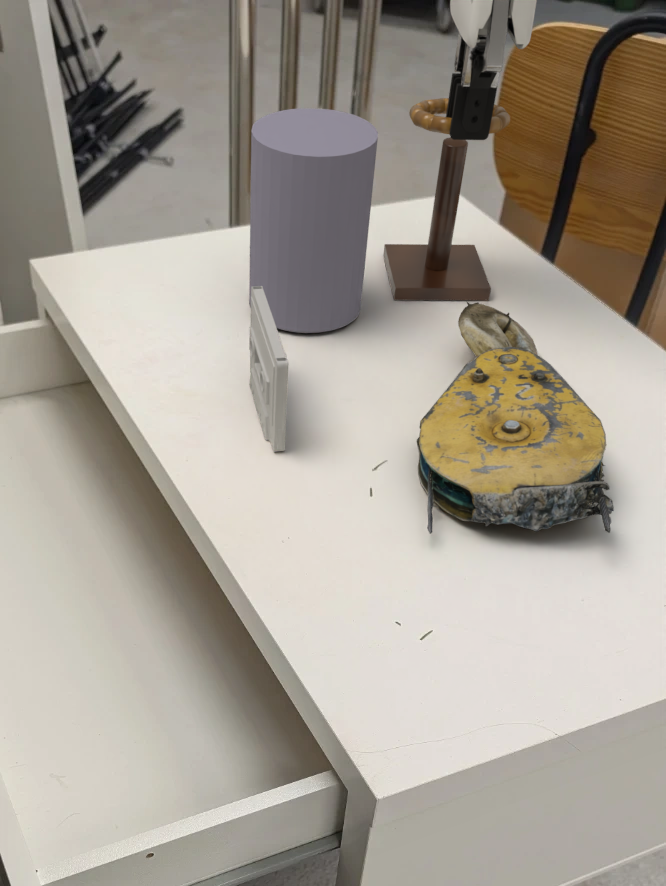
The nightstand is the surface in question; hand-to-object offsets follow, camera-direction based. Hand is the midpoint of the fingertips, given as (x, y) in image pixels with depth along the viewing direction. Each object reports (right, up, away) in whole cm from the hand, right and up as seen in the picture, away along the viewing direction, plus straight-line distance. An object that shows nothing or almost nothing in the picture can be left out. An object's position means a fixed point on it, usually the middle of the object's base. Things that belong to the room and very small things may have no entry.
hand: (466, 131), depth 86 cm
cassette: (-17, -24, -2) cm, 30 cm away
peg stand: (0, -7, +13) cm, 15 cm away
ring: (0, +3, +2) cm, 3 cm away
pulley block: (+2, -27, -4) cm, 27 cm away
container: (-13, -11, +9) cm, 20 cm away
